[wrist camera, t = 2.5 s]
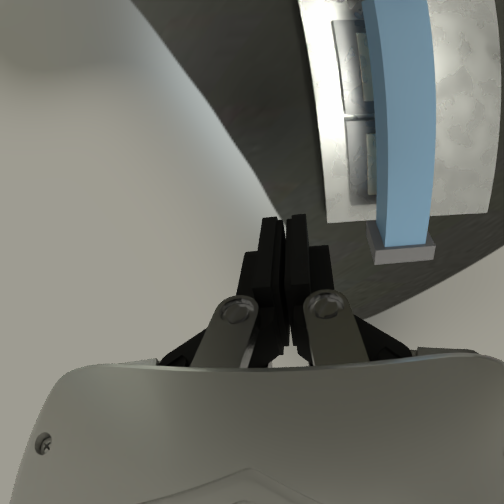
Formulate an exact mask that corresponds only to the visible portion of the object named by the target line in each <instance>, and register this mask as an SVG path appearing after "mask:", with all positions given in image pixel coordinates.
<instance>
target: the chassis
mask: <svg viewBox="0 0 504 504" xmlns="http://www.w3.org/2000/svg"><path fill="white" fill-rule="evenodd" d="M362 1H364V0H297V2H298V7H299V12H300V17H301V22H302V28H303V33H304V39H305V44H306V50H307V56H308V62H309V68H310V75H311V81H312V88H313V95H314V103H315V110H316V118H317V126H318V134H319V143H320V153H321V162H322V173H323V184H324V196H325V209H326V217H327V223H336V222H349V221H363V220H376V205H377V158H376V129H375V111H374V97H373V85H372V75H371V66H370V57H369V49H368V42H367V34H366V28H365V21H364V15H363V10H362V4H361V2H362ZM427 4H428V10H429V17H430V24H431V33H432V42H433V52H434V65H435V84H436V144H435V163H434V177H433V188H432V198H431V207H430V215H429V216H437V215H455V214H473V213H487V211H488V206H489V201H490V196H491V191H492V185H493V179H494V172H495V165H496V157H497V149H498V139H499V127H500V110H501V60H500V43H499V32H498V22H497V14H496V7H495V1H494V0H427Z"/></svg>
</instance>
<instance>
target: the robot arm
mask: <svg viewBox="0 0 504 504" xmlns="http://www.w3.org/2000/svg"><path fill="white" fill-rule="evenodd" d="M290 327H291V334H292V341H293V346H297V351H298V354H299V355H300V356H302V357H303V358H304V359H305V360H307V361H308V364H309V366H306V367H284V368H283V367H282V368H272V360H273V359H275V358H276V357H277V356H279V355H283V350H284V346H289V334H290ZM10 504H504V362H503V361H502V360H499V359H497V358H494V357H491V356H487V355H481V354H478V353H477V352H475V351H473V350H468V349H444V348H425V347H418V348H417V350H409V348H408V347H407V346H405V345H404V344H403V343H401V342H399V341H398V340H396V339H394V338H393V337H391V336H389V335H388V334H386V333H384V332H382V331H381V330H379V329H377V328H376V327H374V326H372V325H371V324H369V323H367V322H365V321H364V320H362V319H361V318H359V317H357V316H356V315H354V314H353V312H352V309H351V307H350V304H349V301H348V299H347V298H346V296H345V295H343V294H342V293H341V292H338V291H336V290H334V284H333V276H332V268H331V261H330V254H329V247H328V245H322V246H310V247H309V241H308V231H307V222H306V214H298V215H292V219H287V223H286V238H285V231H284V225H283V220H278V219H277V217H269V218H263V219H262V225H261V232H260V238H259V244H258V251H252V252H246V253H245V255H244V259H243V264H242V269H241V274H240V279H239V284H238V289H237V293H236V296H232V297H229V298H227V299H225V300H223V301H222V302H221V303H220V304H219V305H218V307H217V308H216V310H215V312H214V314H213V316H212V319H211V321H210V323H209V325H208V327H207V328H206V329H205V330H203V331H202V332H200V333H199V334H197V335H196V336H194V337H193V338H191V339H190V340H188V341H187V342H185V343H184V344H182V345H181V346H179V347H178V348H176V349H175V350H173V351H172V352H170V353H168V354H167V355H166V356H165V357H164V358H163V359H162V360H161V361H158V360H157V359H156V358H155V359H148V360H141V361H134V362H127V363H119V364H97V365H90V366H85V367H81V368H78V369H75V370H72V371H70V372H68V373H66V374H65V375H63V376H62V377H61V378H60V379H59V380H58V381H57V383H56V384H55V386H54V387H53V389H52V390H51V392H50V394H49V395H48V397H47V399H46V401H45V403H44V405H43V407H42V409H41V412H40V414H39V416H38V418H37V420H36V423H35V425H34V427H33V430H32V433H31V435H30V438H29V441H28V443H27V446H26V449H25V452H24V455H23V458H22V461H21V464H20V467H19V470H18V474H17V477H16V481H15V484H14V488H13V492H12V497H11V500H10Z"/></svg>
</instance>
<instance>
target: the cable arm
mask: <svg viewBox="0 0 504 504" xmlns="http://www.w3.org/2000/svg"><path fill="white" fill-rule="evenodd" d="M361 4H362V10H363V15H364V21H365V28H366V34H367V42H368V49H369V57H370V66H371V75H372V85H373V97H374V111H375V129H376V158H377V205H376V220H374V221H366V236H367V240H368V243H369V246H370V250H371V253H372V257H373V261H374V264H375V265H378V264H389V263H401V262H412V261H423V260H433V257H434V252H435V247H436V245H435V244H434V242H433V240H432V238H431V236H430V234H429V232H428V223H429V215H430V207H431V198H432V188H433V177H434V163H435V144H436V84H435V65H434V52H433V42H432V33H431V24H430V17H429V10H428V4H427V0H364V1H362V2H361Z"/></svg>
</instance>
